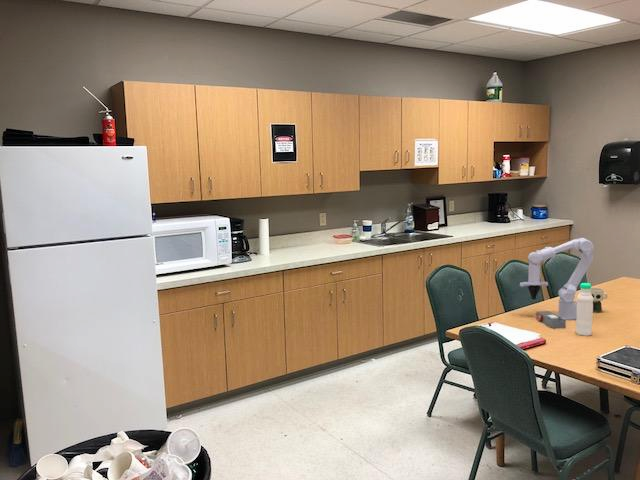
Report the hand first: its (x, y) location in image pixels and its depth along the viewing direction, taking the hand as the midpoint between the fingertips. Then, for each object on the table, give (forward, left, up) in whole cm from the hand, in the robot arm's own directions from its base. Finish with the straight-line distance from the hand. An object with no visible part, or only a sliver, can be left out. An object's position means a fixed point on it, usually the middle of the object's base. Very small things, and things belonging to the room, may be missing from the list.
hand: (533, 298), depth 282 cm
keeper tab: (-5, +17, -5) cm, 19 cm away
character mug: (-38, -6, -10) cm, 40 cm away
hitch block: (-4, +13, -10) cm, 17 cm away
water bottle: (-11, +32, -10) cm, 35 cm away
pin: (-4, +9, -10) cm, 14 cm away
